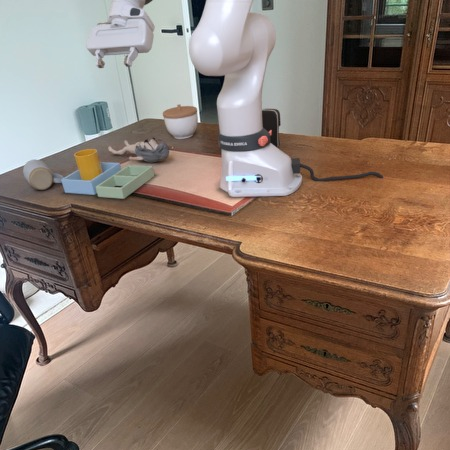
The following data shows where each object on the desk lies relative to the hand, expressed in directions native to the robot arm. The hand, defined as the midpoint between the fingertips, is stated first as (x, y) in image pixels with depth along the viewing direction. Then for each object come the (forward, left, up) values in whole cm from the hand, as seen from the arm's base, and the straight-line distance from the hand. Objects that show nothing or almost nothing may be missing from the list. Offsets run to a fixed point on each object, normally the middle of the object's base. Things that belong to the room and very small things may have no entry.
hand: (113, 66), depth 124 cm
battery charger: (-37, -25, -30) cm, 53 cm away
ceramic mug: (+22, +17, -30) cm, 41 cm away
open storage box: (+6, +14, -29) cm, 33 cm away
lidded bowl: (0, -34, -30) cm, 45 cm away
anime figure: (+3, -9, -30) cm, 31 cm away
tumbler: (+6, +14, -29) cm, 33 cm away
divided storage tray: (-5, +14, -29) cm, 33 cm away
